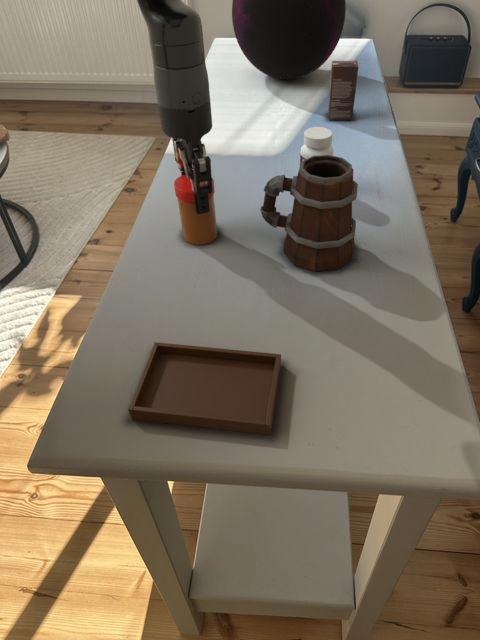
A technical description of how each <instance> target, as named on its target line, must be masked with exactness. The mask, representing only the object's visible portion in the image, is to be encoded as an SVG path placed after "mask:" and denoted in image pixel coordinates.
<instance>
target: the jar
mask: <svg viewBox="0 0 480 640" xmlns="http://www.w3.org/2000/svg"><path fill="white" fill-rule="evenodd" d="M208 200H209V212H207V213H203V214H197V213H196V211H195V204H194V203H189V202H184V201H181V200H179V199H178V198H177V203H178V210H179V217H180V222H181V229H182V230H181V231H182V235H183V239H184V241H185V242H187V243H189V244H191V245H197V246H198V245H199V246H200V245H201V246H202V245H206V244H210V243H211V242H214V241H215V240H216V238H218V237H217V236H218V227H217V225H218V224H217V217H216V203H215V194H214V195H213V196H212V197H211V198H210V199H208Z"/></svg>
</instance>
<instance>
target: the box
mask: <svg viewBox="0 0 480 640" xmlns="http://www.w3.org/2000/svg"><path fill="white" fill-rule="evenodd" d="M330 67H331V68H330V69H331V70H330V82H329V83H330V84H329V96H328V97H329V98H328V109H327V110H328V111H327V116H328V120H329V121H333V120H334V121H340V120H341V121H353V117H354V107H355V99H356V90H357V80H358V72H359V64H358V60H331V66H330Z"/></svg>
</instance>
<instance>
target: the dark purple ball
mask: <svg viewBox="0 0 480 640" xmlns="http://www.w3.org/2000/svg"><path fill="white" fill-rule="evenodd" d="M231 2H232V3H231V20H232V21H231V22H232V27H233V32H234V36H235V39H236V42H237V44H238V47H239V49H240V50H241V51H242V53H243V55H244V57H245V58H246V59H247V61H248V62H249V63H250V64H251V65H252V66H253V67H254V68H255V69H256V70H258V71H259V72H260V73H263V74H265V75H266V76H268V77H272V78H275V79H278V80H279V79H280V80H294V79H295V80H296V79H300V78H303V77H306V76H308V75H309V74H312V73H313V72H315V71H316V70H319V68H320V67H321V66H323V65H324V64H325V63H326V62H327V60H329V58H330V57H331V56H332V54H333V53H334V51H335V50H336V48H337V46H338V44H339V41H340V39H341V37H342V34H343V31H344V26H345V20H346V12H347V11H346V10H347V9H346V7H347V6H346V0H232V1H231Z"/></svg>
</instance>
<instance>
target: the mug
mask: <svg viewBox="0 0 480 640" xmlns="http://www.w3.org/2000/svg"><path fill="white" fill-rule="evenodd" d="M358 185H359V184H358V183H357V182H356V180H354V168H353V165H352V163H350V162H349V161H347V160H346V159H345V158H344V157H341V156H336V155H333V156H332V155H318V156H312V157H310V158H308V159H306V160H304V161H302V163H301V165H300V164H299V168H298V172H297V175H294V176H293V177H292V178H291V177H286V174H282V175H281V174H280V175H275V176H273V177H271V178H270V179H269V180H268V181H267V182H266V185H264V188H263V191H264V198H263V204H262V205H261V206H260V209H259V211H260V213H261V217H262V218H263V220H264V222H266V223H267V224H268V225H269V226H271V227H273V228H275V229H276V228H277V227H278V228H283V229H284V231H285V232H286V234H285V239H284V242H283V254H284V255H285V256H286V257H287V259H288V260H289V261H290V262H291V263H292V264H293V265H294V266H297V267H300V268H303V269H306V270H310V271H314V272H323V271H331V270H333V271H334V270H338V269H340V268H341V267H343V266H344V265H346V264H347V263H349V262H350V261H353V256H354V249H355V237H356V229H357V220H356V219H355V218H354V217H353V201H355V200H356V199H358V187H359V186H358ZM284 192H289V195H291V196H292V197H293V198H294V199H293V204H292V211H291V213H288V214H287V215H284V214H281V212H280V211H277V207H276V202H277V197H279V195H280V193H284Z"/></svg>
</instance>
